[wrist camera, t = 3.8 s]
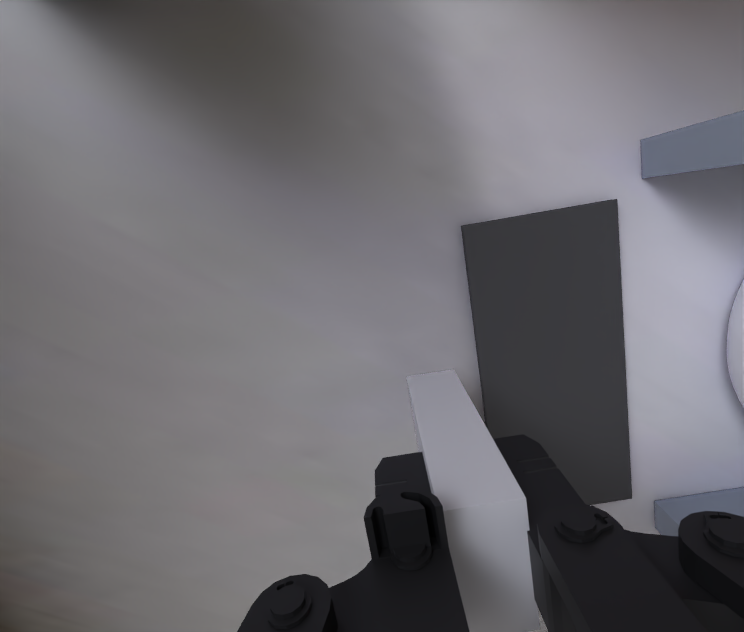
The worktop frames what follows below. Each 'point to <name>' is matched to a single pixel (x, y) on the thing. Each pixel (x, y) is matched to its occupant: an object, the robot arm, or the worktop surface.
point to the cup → (736, 344)
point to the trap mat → (555, 339)
